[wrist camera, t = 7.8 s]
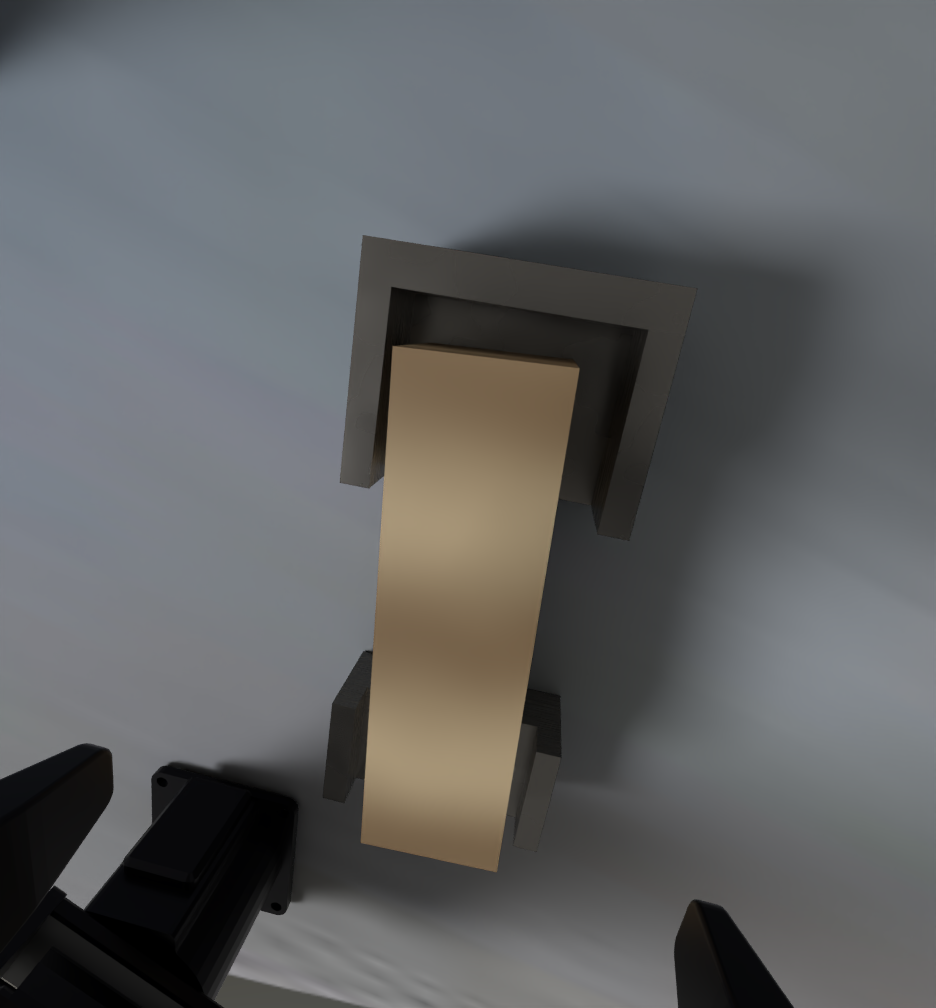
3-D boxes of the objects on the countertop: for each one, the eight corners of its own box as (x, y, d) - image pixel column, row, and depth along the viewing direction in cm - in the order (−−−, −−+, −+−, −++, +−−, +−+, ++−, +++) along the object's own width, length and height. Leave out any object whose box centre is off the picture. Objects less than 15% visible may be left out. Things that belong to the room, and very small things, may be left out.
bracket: (611, 492, 18) (629, 540, 14) (387, 448, 19) (339, 482, 15) (660, 299, 17) (697, 289, 12) (410, 259, 17) (362, 234, 13)
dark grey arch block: (539, 780, 22) (536, 852, 19) (353, 735, 23) (322, 797, 20) (560, 696, 21) (561, 758, 18) (363, 651, 22) (332, 703, 19)
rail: (507, 768, 20) (496, 872, 16) (397, 747, 20) (360, 842, 16) (573, 359, 15) (579, 368, 12) (431, 342, 16) (392, 345, 12)
